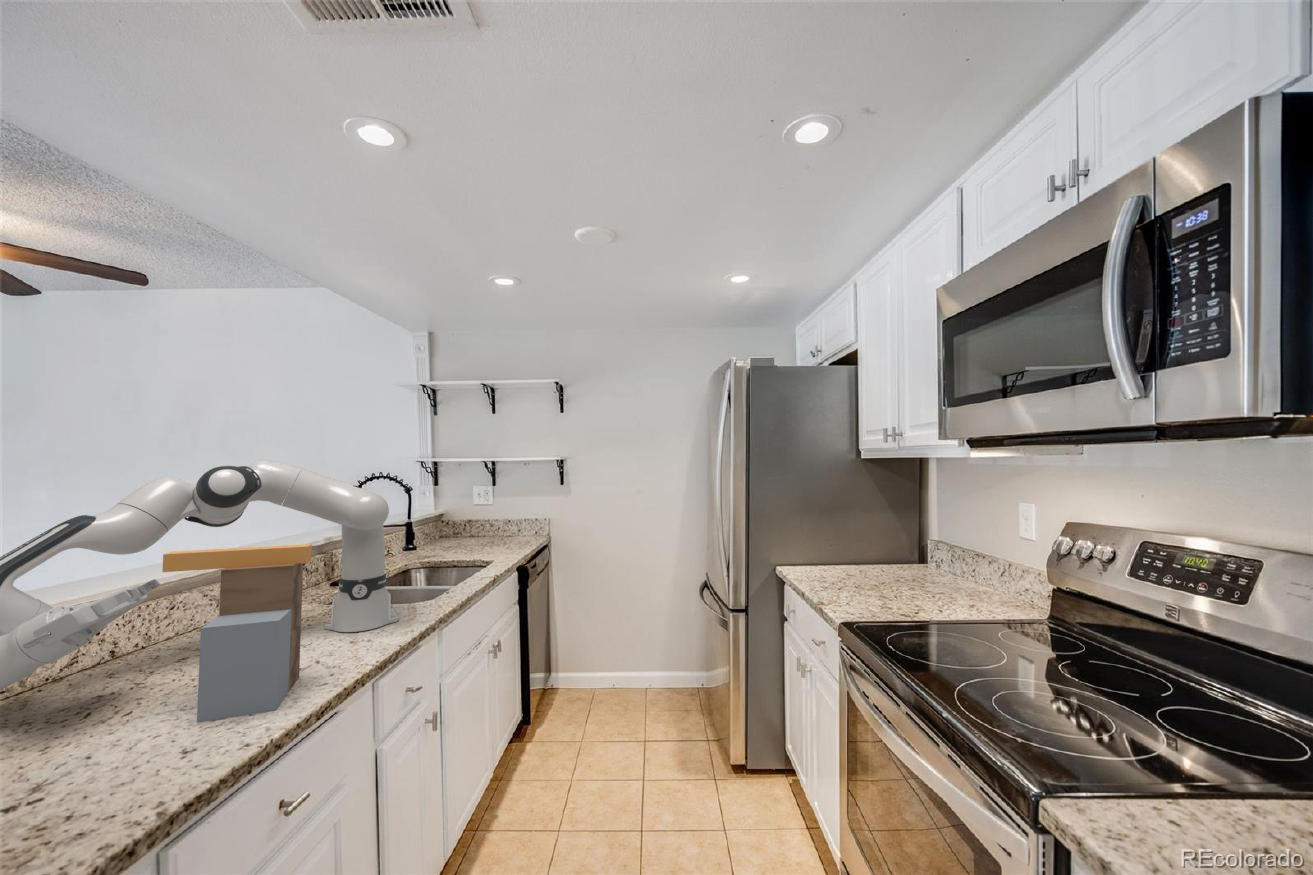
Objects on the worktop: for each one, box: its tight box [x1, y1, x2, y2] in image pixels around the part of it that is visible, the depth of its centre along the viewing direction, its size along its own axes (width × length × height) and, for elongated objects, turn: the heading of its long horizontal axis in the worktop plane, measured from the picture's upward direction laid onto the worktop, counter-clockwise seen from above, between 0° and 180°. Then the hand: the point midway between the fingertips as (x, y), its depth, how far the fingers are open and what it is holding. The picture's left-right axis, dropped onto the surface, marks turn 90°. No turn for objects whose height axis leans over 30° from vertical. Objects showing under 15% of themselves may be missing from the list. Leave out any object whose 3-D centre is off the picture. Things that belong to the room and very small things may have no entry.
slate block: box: [196, 609, 291, 723], centre depth 98 cm, size 8×12×17 cm, turn 112°
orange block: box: [162, 543, 313, 573], centre depth 105 cm, size 4×24×4 cm, turn 112°
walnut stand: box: [218, 563, 304, 693], centre depth 106 cm, size 8×12×26 cm, turn 112°
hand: (144, 587), depth 99 cm, fingers open, 8 cm apart
